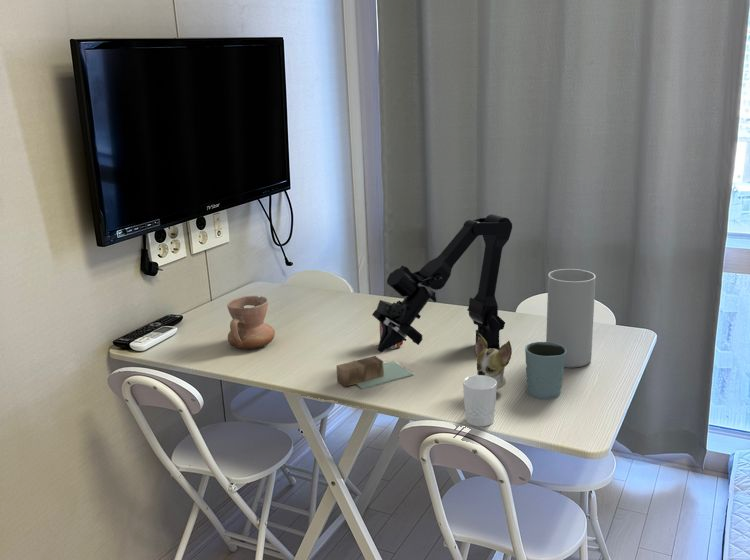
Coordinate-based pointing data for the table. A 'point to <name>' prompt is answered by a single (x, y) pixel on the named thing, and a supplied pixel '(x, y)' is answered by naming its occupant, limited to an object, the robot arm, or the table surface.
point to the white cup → (479, 399)
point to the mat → (387, 375)
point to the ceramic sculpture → (492, 360)
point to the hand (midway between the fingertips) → (378, 351)
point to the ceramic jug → (249, 323)
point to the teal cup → (544, 369)
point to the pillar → (360, 371)
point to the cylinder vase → (571, 314)
